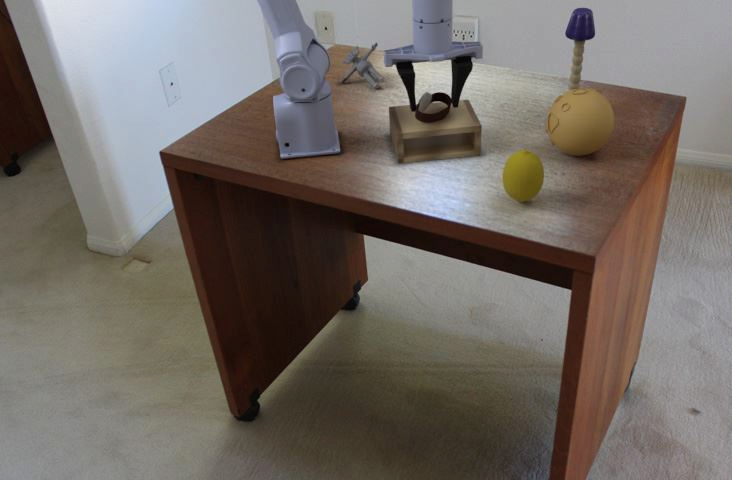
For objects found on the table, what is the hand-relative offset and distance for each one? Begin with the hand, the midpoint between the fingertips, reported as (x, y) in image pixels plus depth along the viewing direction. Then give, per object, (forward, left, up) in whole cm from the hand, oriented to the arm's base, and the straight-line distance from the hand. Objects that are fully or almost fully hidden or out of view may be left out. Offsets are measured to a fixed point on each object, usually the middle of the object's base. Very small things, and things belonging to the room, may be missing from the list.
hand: (433, 107), depth 115 cm
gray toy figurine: (-8, +29, -7) cm, 31 cm away
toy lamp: (+25, +8, -7) cm, 27 cm away
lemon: (+9, -20, -7) cm, 23 cm away
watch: (0, 0, -2) cm, 2 cm away
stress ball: (+21, -7, -7) cm, 23 cm away
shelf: (0, 0, -6) cm, 6 cm away
